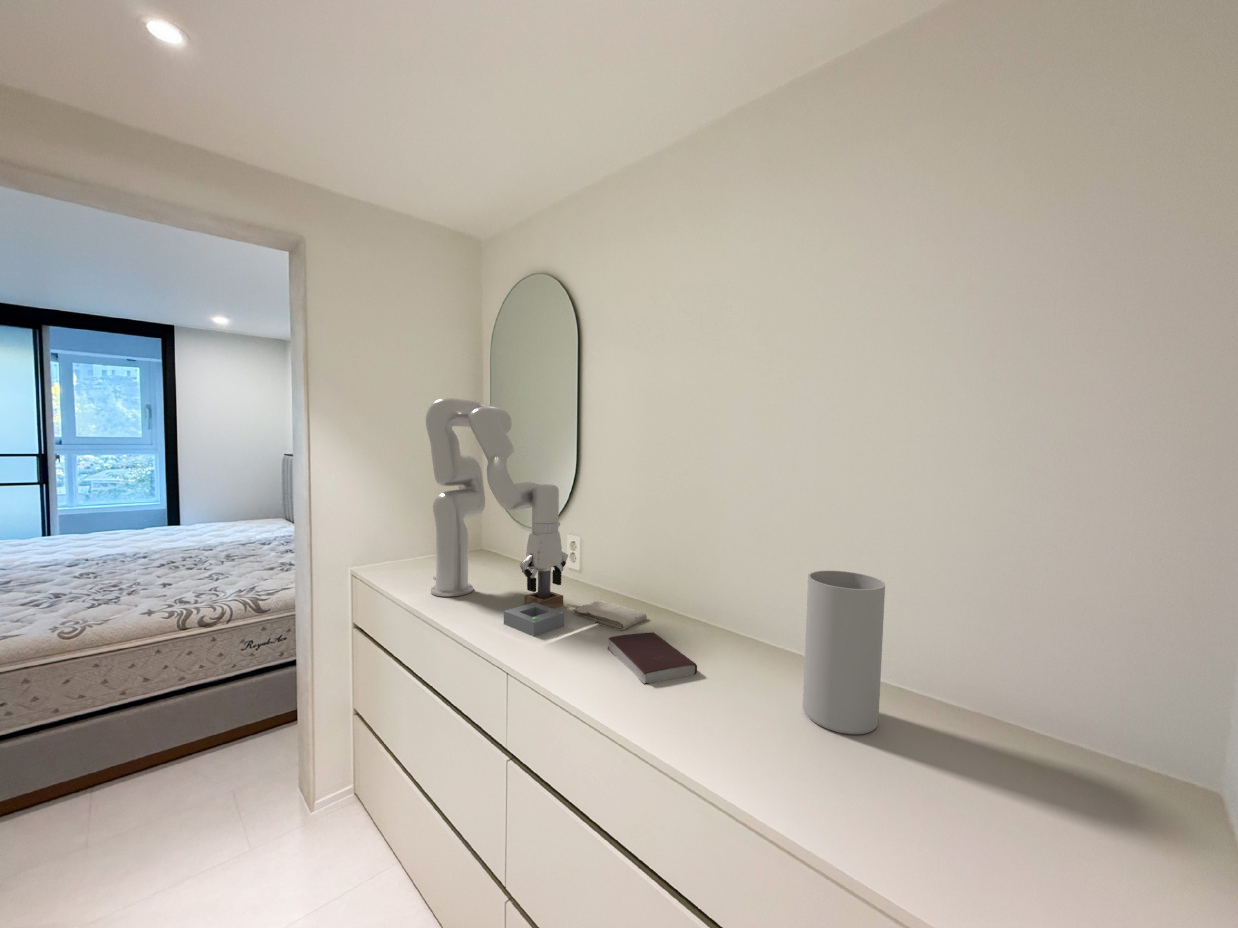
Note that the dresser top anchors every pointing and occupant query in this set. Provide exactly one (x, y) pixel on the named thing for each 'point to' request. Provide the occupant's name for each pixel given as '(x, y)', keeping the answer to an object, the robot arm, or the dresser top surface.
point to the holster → (545, 600)
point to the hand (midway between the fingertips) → (544, 587)
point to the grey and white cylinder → (544, 583)
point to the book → (650, 657)
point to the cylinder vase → (843, 651)
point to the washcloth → (611, 614)
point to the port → (533, 619)
